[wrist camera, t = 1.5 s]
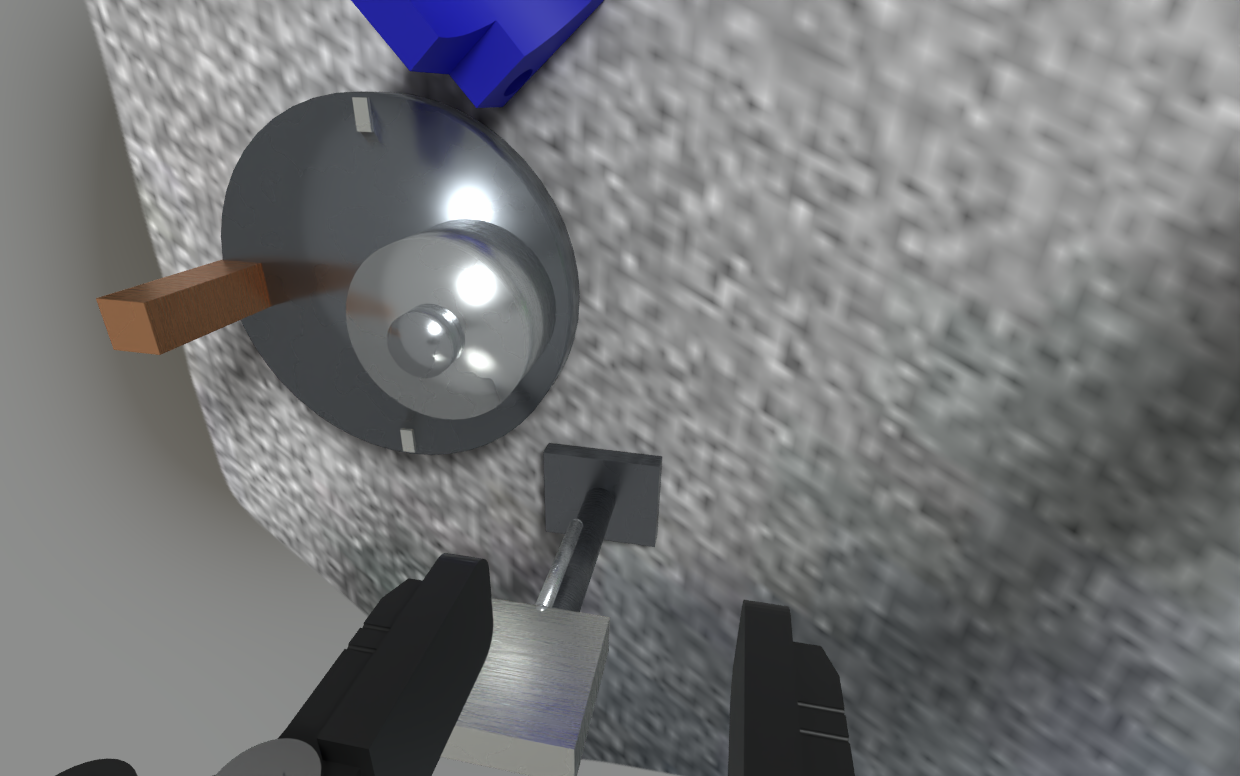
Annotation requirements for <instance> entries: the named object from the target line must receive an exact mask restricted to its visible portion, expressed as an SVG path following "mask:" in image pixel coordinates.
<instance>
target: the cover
mask: <svg viewBox="0 0 1240 776" xmlns="http://www.w3.org/2000/svg"><path fill="white" fill-rule="evenodd" d="M346 321H347V328H348V333H349V337H350V340H351V343H352V346H353V348H354V351H355V353H356V355H357V357H358V359H359V361H360V362H361V364H362V366H363V367H364V369H365V370H366V372H367V373H368V374H369V376H370V377H371V378H372V379H373V381H374V382H375V383H376V384H377V385H378V386H379V387H380V388H381V389H382V390H383V391H384V392H386V393H387V394H388V395H389V396H390V397H392V398H393V399H395V400H396V401H397V402H399V403H400V404H402V405H404V406H406V407H408V408H409V409H411V410H414V411H416V412H418V413H421V414H424V415H427V416H431V417H435V418H441V419H453V420H456V419H467V418H471V417H476V416H479V415H481V414H484V413H486V412H488V411H490V410H492V409H494V408H495V407H497V406H498V405H499V404H501V403H502V402H503V401H504V400H505V399H506V398H507V397H508V396H509V395H510V393H511V392H512V391H513V390H514V388H515V387H516V386H517V385H518V384H519V382H520V381H521V380H522V379H523V377H524V376H525V375H526V374H527V372H528V371H529V370H530V369H531V367H532V366H533V365H534V364H535V362H536V361H537V360H538V359H539V357H540V356H541V355H542V353H543V352H544V351H545V349H546V348H547V346H548V344H549V342H550V340H551V337H552V334H553V331H554V327H555V322H556V301H555V295H554V291H553V287H552V284H551V281H550V278H549V276H548V274H547V272H546V270H545V268H544V266H543V265H542V263H541V262H540V260H539V259H538V257H537V256H536V255H535V254H534V252H533V251H532V250H531V249H530V248H529V247H528V246H527V245H526V244H525V243H524V242H523V241H522V240H521V239H519V238H518V237H517V236H515V235H514V234H513V233H511V232H509V231H507V230H506V229H504V228H502V227H500V226H497V225H495V224H492V223H489V222H485V221H482V220H475V219H456V220H450V221H446V222H443V223H440V224H437V225H435V226H433V227H430V228H428V229H425V230H423V231H420V232H418V233H415V234H413V235H410V236H408V237H405V238H403V239H401V240H398V241H396V242H393V243H391V244H388V245H386V246H384V247H382V248H380V249H378V250H377V251H376V252H374V253H373V254H372V255H370V256H369V257H368V258H367V259H366V260H365V261H364V262H363V263H362V264H361V266H360V267H359V269H358V270H357V272H356V273H355V275H354V277H353V279H352V281H351V284H350V287H349V291H348V295H347V301H346Z"/></svg>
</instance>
